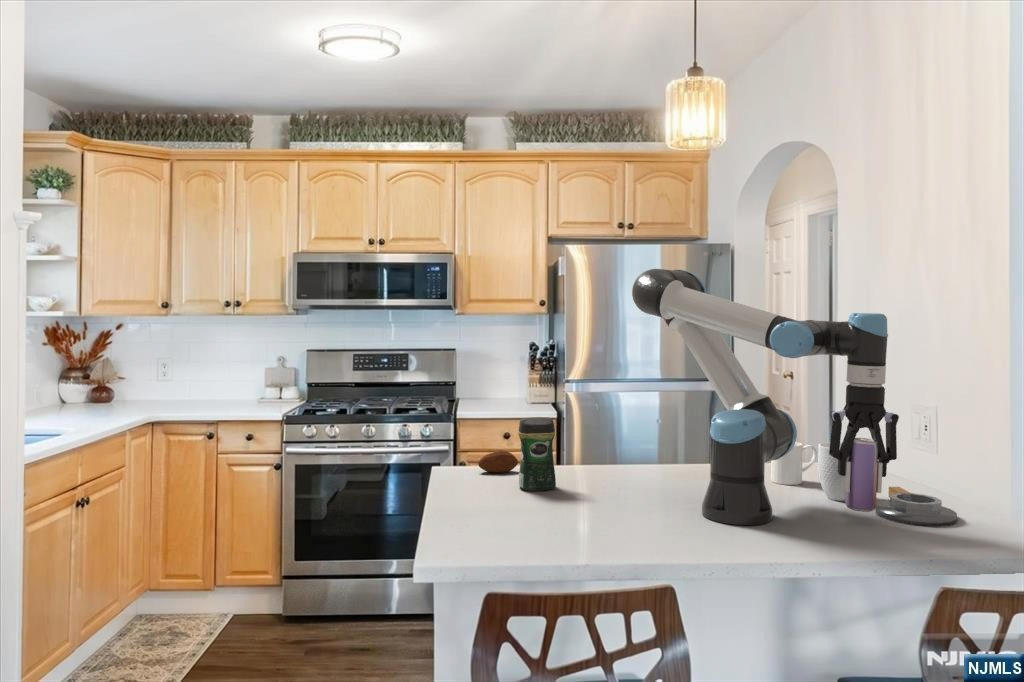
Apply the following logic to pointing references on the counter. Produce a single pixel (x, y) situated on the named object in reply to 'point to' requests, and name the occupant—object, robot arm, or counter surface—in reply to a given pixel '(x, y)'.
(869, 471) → the beverage can
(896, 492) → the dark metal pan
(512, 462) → the potato
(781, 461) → the mug
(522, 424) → the coffee jar
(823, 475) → the mug
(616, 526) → the counter surface
